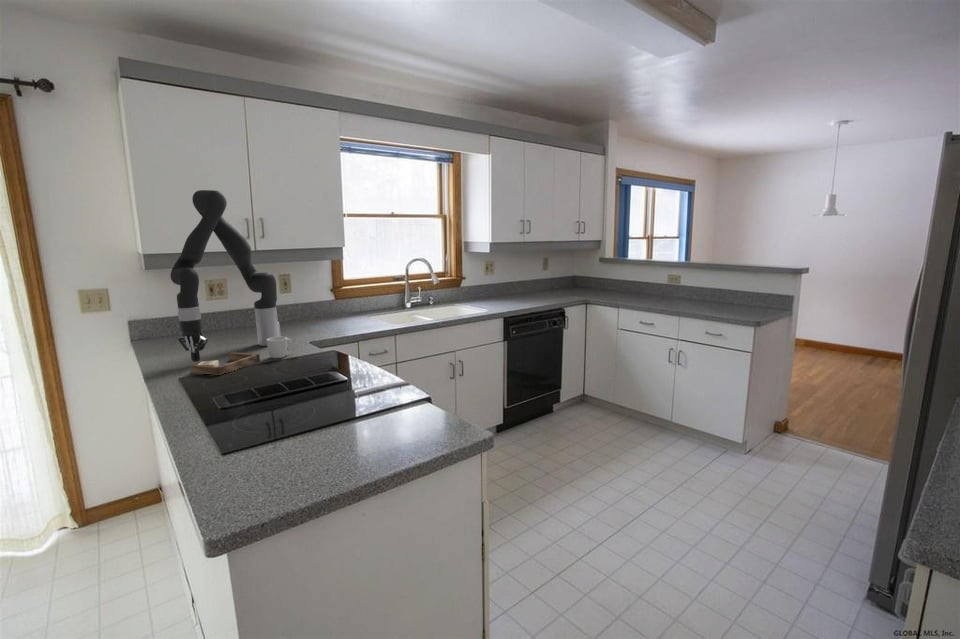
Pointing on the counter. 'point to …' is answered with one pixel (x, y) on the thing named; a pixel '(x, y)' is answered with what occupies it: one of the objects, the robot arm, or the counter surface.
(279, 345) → the cup
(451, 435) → the counter surface
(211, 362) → the maple tile
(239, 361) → the wooden u-shaped bracket
